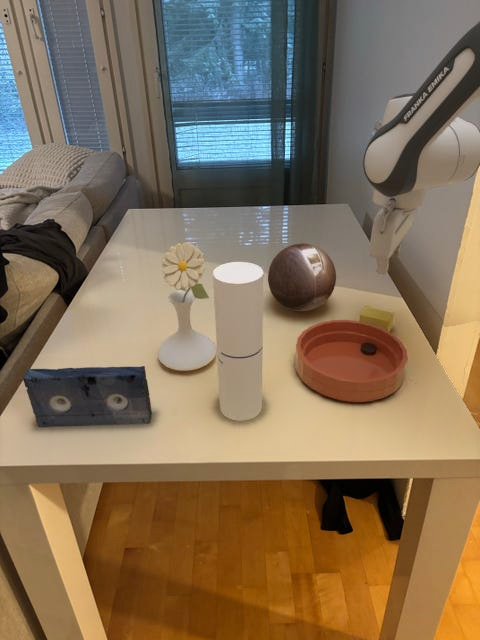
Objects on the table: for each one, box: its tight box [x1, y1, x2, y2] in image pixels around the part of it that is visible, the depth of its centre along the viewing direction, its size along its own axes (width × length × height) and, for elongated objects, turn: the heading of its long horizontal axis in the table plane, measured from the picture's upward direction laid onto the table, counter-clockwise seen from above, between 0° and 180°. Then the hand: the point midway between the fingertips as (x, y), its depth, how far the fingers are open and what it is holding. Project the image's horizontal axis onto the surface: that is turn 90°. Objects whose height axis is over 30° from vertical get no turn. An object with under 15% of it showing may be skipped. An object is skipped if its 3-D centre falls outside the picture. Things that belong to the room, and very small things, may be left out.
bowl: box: [294, 319, 409, 403], centre depth 86 cm, size 20×20×5 cm
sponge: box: [358, 306, 395, 333], centre depth 97 cm, size 6×4×4 cm, turn 62°
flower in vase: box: [157, 241, 217, 372], centre depth 84 cm, size 13×11×25 cm
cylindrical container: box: [212, 261, 264, 422], centre depth 72 cm, size 7×7×25 cm
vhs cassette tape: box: [22, 365, 153, 428], centre depth 74 cm, size 18×3×10 cm, turn 90°
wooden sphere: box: [267, 243, 337, 312], centre depth 104 cm, size 15×15×15 cm
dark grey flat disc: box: [360, 343, 377, 355], centre depth 90 cm, size 3×3×1 cm
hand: (388, 263), depth 90 cm, fingers open, 8 cm apart
